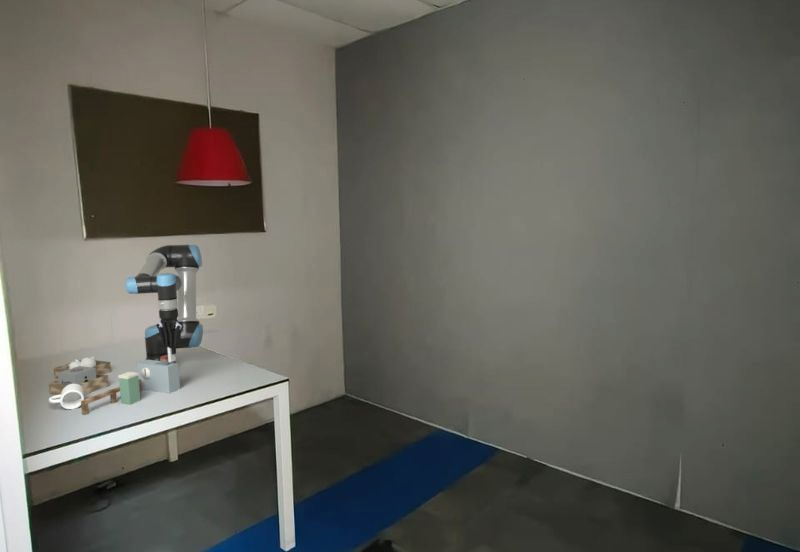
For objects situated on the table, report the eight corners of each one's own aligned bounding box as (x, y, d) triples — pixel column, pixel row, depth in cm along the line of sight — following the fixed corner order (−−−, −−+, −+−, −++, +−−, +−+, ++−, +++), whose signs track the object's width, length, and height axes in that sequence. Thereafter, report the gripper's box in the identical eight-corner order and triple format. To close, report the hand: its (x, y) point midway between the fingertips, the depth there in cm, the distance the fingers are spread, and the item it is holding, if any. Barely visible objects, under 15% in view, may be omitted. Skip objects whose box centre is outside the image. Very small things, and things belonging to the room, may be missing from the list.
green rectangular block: (131, 399, 207) (129, 371, 205) (140, 400, 205) (138, 372, 203) (120, 403, 202) (118, 375, 200) (130, 405, 200) (127, 376, 199)
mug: (84, 399, 207) (83, 381, 206) (84, 407, 198) (82, 388, 197) (50, 406, 200) (48, 387, 199) (48, 414, 192) (46, 394, 191)
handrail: (139, 391, 216) (138, 379, 215) (142, 391, 215) (141, 379, 215) (82, 414, 191) (80, 401, 190) (85, 414, 190) (83, 401, 190)
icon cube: (60, 394, 213) (57, 372, 212) (81, 387, 223) (79, 366, 221) (76, 397, 210) (74, 374, 209) (97, 389, 219) (95, 368, 218)
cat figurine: (67, 358, 236) (95, 352, 244) (64, 366, 243) (91, 359, 251) (71, 375, 233) (99, 368, 242) (68, 382, 240) (96, 375, 249)
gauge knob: (166, 362, 217) (165, 355, 217) (171, 363, 216) (170, 355, 216) (160, 364, 214) (160, 356, 214) (165, 364, 213) (165, 357, 213)
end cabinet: (149, 384, 224) (147, 359, 223) (180, 388, 218) (178, 362, 217) (137, 389, 218) (134, 363, 217) (168, 394, 212) (166, 367, 210)
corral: (85, 368, 251) (84, 358, 250) (138, 375, 238) (137, 365, 238) (19, 389, 221) (18, 378, 220) (75, 397, 209) (74, 386, 208)
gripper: (149, 309, 210) (153, 362, 213) (173, 311, 206) (177, 364, 209) (163, 306, 217) (167, 357, 220) (186, 308, 213) (190, 359, 216)
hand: (172, 361), depth 214 cm, fingers closed
